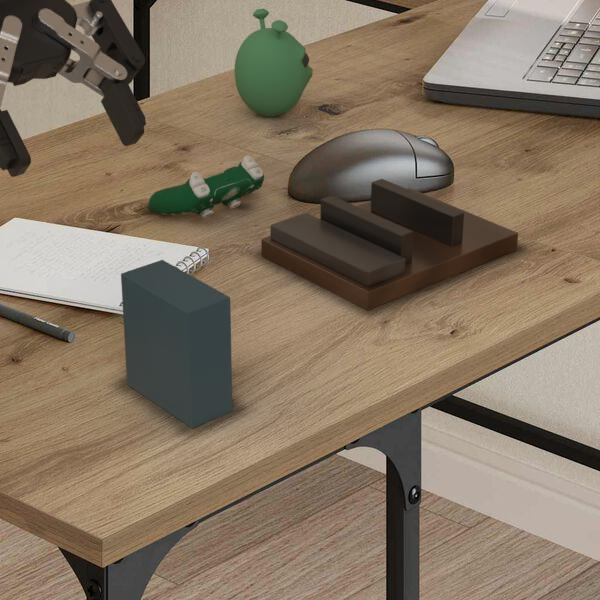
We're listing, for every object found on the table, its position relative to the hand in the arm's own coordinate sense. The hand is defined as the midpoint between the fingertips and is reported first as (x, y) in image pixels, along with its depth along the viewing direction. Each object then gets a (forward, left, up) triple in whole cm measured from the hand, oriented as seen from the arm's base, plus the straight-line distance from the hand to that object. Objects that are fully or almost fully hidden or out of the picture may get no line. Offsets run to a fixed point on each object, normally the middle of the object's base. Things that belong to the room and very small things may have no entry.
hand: (80, 154), depth 91 cm
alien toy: (+31, +36, -14) cm, 50 cm away
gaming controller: (+16, +17, -14) cm, 28 cm away
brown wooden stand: (+25, +3, -14) cm, 29 cm away
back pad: (+2, -10, -14) cm, 17 cm away
